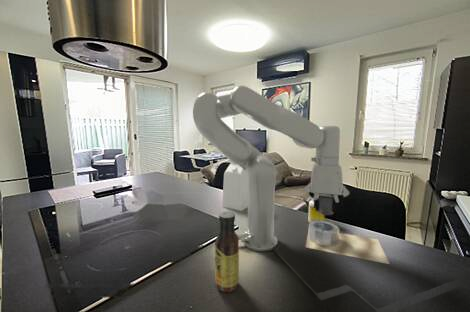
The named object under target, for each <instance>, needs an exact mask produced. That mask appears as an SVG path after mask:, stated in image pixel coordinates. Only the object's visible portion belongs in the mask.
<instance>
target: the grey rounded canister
mask: <svg viewBox="0 0 470 312" xmlns="http://www.w3.org/2000/svg"><path fill="white" fill-rule="evenodd" d="M333 202H334V196H333V195H329V194H318V213H320V214H322V215H325V216H332V215H333V214H334V213H333Z"/></svg>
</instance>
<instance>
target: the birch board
mask: <svg viewBox="0 0 470 312" xmlns="http://www.w3.org/2000/svg"><path fill="white" fill-rule="evenodd" d="M307 231H308V232H309V229H307ZM308 232H307V233H308ZM305 248H308V249H312V250H317V251H322V252H327V253H331V254H336V255H341V256H347V257H352V258H356V259H361V260H367V261H370V262H376V263H381V264H387V265H390V261H389V259H388V257H387V255H386V254H385V251H384V249H383V247H382V245H381V242H380V241H379V239H378V238H373V237H372V238H371V237H366V236H359V235H353V234H348V233H342V232H339V243H338V244H337V246H333V247H324V246H320V245H317V244H314V243H313V242H311V241H310V240H309V237H308V235H307V236H306V241H305Z"/></svg>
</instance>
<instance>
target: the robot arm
mask: <svg viewBox="0 0 470 312" xmlns="http://www.w3.org/2000/svg"><path fill="white" fill-rule="evenodd" d="M241 114H242V115H244V116H246V117H248V118H250V119H251V120H253V121H254V122H256V123H258V124H259V125H260V126H262V127H264V128H267V129H269V130H273V131H276V132H279V133H281V134H283V135H284V136H287V137H289V138H291V139H292V141H293V143H294V144H295V145H296V146H298V147H301V148H306V149H311V150H312V149H315V156H314V157H311V159H310V161H311V162H314V164H313V165H312V169H311V177H310V178H311V179H310V182H309V183H308V184H307V185H306V186H305V187H304V189H303V191H304V192H306V194H308V195H309V196H310V197H312V198H313V200H314V208H316V211H318V195H320V194H327V195H331V196H333V197H334V202H333V214H336V211H339V208H338V207H339V202H340V201H341V200H343V199H345V197H348V196H349V195H350V191H349V190H348V189H347V188H346V187H345V185H344V184H343V168H342V166H341V165H340V163H339V162H340V140H341V138H340V137H341V128H339V126H336V125H321V126H319V125H317V124H315V123H314V122H313V121H311V120H309V119H307V118H305V117H304V116H302V115H300V114H299V113H296V112H294V111H292V110H289V109H287V108H285V106H284V107H283V106H281V105H279V104H277V103H275V102H274V101H272V100H270V99H268V97H266V96H264V95H262V94H260V93H258V92H257V91H255V90H253V89H252V88H250V87H248V86H246V85H237V86H236V87H234V88H233V89H232V91H231V92H229V93H227V94H226V93H225V94H223V95H216V94H214V92H213V93H212V92H208V91H207V92H202V93H201V94H199V95H198V96H197V97H196V99H195V100H194V103H193V107H192V118H193V121H194V124H195V127H196V128H197V130H198V132H199V133H200V134H201V135H202V137H203V138H204V139H206V141H208V142H209V143H210V144H211V145H212V146H214V147H215V148H216V149H217V150H218V151H219V152H220V153H221V154H222V155H224V156H225V157H226V158H227V160H228V161H230V163H231V162H233V163H235V164H238V165H239V166H241V167H242V168H243V169H244V170H245V171H246V172H248V207H247V228H245V229H244V231H245V232H244V231H243V232H242V233H236V234H237V236H238V240H240V242H241V243H243V244H244V246H246V247H247V249H250V250H252V251H257V252H269V251H272V250H274V249H275V248H274V247H275V246H276V245H278V241H279V239H278V238H277V237H276V236H275V235H274V233H275V231H274V230H275V228H274V227H275V189H276V180H277V169H276V166H275V164H274V163H273V162H272V161H271V160H270V159H269V158H268V157H266V156H265V155H264V154H263V153H262V152H261V151H259V150H258V149H257V148H256V147H255V146H254V145H253V144H251V143H250V142H249V141H248V140H247V139H245V137H242V136H240V135H239V134H238V133H237V132H235V130H233V129H232V128H231V127H230V126H229V125H227V123H225V122H224V121H223V120H222V119H224V118H228V117H232V116H237V115H241ZM312 198H311V199H312Z"/></svg>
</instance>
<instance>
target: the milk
mask: <svg viewBox="0 0 470 312" xmlns="http://www.w3.org/2000/svg"><path fill="white" fill-rule="evenodd" d="M222 187H223V189H222V208H225V209H230V210H235V211H239V212H242V211H244V210H245V209H248V172H246V171H245V170H244V169H243V168H242V167H241V166H239V165H238V164H235V163H233V162H231V161H230V163H229V165H228V167H227V168H226V170H225V171H224V173H223V186H222Z"/></svg>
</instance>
